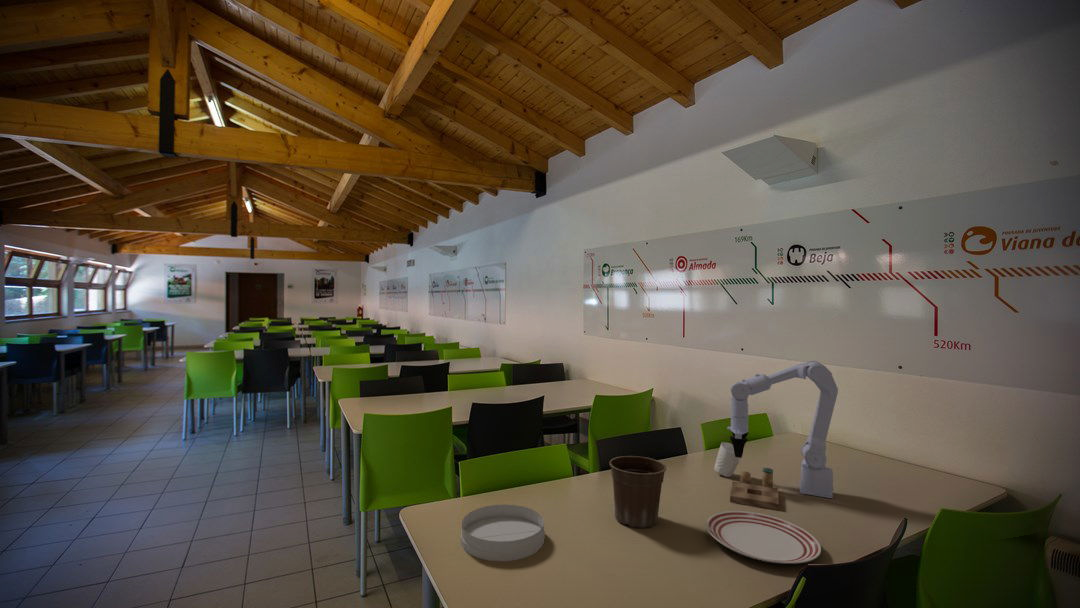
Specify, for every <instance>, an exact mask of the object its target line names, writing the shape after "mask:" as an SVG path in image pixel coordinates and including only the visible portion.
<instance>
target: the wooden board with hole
mask: <svg viewBox="0 0 1080 608" xmlns="http://www.w3.org/2000/svg"><path fill="white" fill-rule="evenodd" d="M778 490H779V489H778V488H777V487H773V488H772V487H765V486H762V485H758V484H751V483H750V484H746V483H741V481H740V482H738V481H732V483H731V489H730V493H729V502H730V503H735V504H738V505H739V504H741V505H746V506H753V507H757V508H764V509H769V510H775V511H780V502H779V501H780V500H779V491H778Z"/></svg>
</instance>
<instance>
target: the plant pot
mask: <svg viewBox="0 0 1080 608" xmlns="http://www.w3.org/2000/svg"><path fill="white" fill-rule="evenodd" d="M609 466H610V470H611V478H612V484H613V502H614V516H615V520H617V522H619V523H620V524H622V525H625V526H626V525H629V526H630V527H631V528H638V529H639V528H640V529H645V528H646V529H647V528H651V527H653V526H655V525H656V524H657V523H658V518H659V509H660V502H661V501H660V500H661V492H662V484H663V483H664V477H665V472H666V471H667V465H666V464H665V463H663V462H661V461H659V460H657V459H654V458H650V457H645V456H639V455H638V456H637V455H635V456H634V455H626V456H625V455H624V456H616V457H613V458H611V460H610V461H609Z"/></svg>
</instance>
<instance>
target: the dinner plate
mask: <svg viewBox="0 0 1080 608" xmlns="http://www.w3.org/2000/svg"><path fill="white" fill-rule="evenodd" d="M705 526H706V530H707V532H708V533H709V535H710V537H712V538H713V539H714V540H716V542H718V543H719V544H721V545H722V546H723V547H725V548H727V549H729V550H731V551H732V552H735V553H737V554H739V555H741V556H744V557H747V558H750V559H753V560H756V559H757V561H760V560H761V561H760V562H765V563H770V564H771V563H772V564H785V565H787V564H788V565H789V564H790V565H791V564H793V565H795V564H803V563H808V562H811V561H814V560H816V559H818V558H819V556H820V555H821V553H822V546H821V544H820V542H819V541H818V539H816V538H815V536H813V534H811V533H809V532H808V531H807V530H806V529H804V528H802V527H800V526H798V525H796V524H795V523H792V522H790V521H787V520H785V519H781V518H778V517H775V516H773V515H768V514H764V513H759V512H758V513H757V512H753V511H746V510H745V511H742V510H730V511H729V510H728V511H721V512H717V513H715V514H713V515H711V516H709V517H708V518H707V520H706V523H705Z"/></svg>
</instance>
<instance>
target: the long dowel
mask: <svg viewBox="0 0 1080 608" xmlns="http://www.w3.org/2000/svg"><path fill="white" fill-rule="evenodd" d="M773 475H774V469H772V468H769V467H763V468H762V479H761V480H762V483H761V486H765V487H772V488H774V483H773V482H774V476H773Z"/></svg>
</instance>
